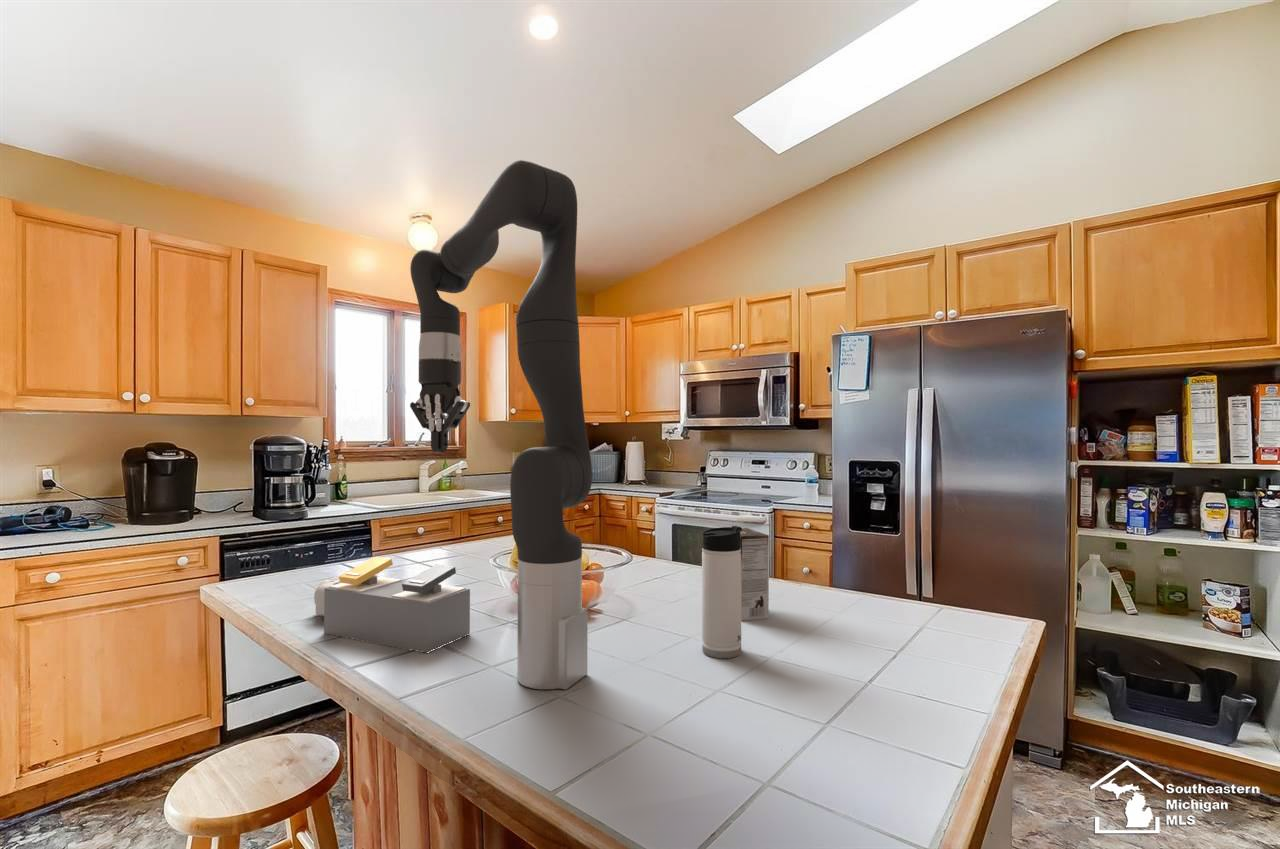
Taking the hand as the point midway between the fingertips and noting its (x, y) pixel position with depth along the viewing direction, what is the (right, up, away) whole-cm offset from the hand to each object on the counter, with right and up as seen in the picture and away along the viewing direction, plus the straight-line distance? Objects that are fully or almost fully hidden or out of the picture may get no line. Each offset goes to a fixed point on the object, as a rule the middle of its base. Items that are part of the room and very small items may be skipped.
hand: (439, 451), depth 110 cm
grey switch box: (-6, -32, -6) cm, 33 cm away
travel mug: (+51, -32, -15) cm, 62 cm away
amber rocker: (-12, -22, -3) cm, 25 cm away
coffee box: (+58, -32, +6) cm, 67 cm away
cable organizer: (-20, -33, +7) cm, 39 cm away
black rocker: (+1, -21, -9) cm, 23 cm away
